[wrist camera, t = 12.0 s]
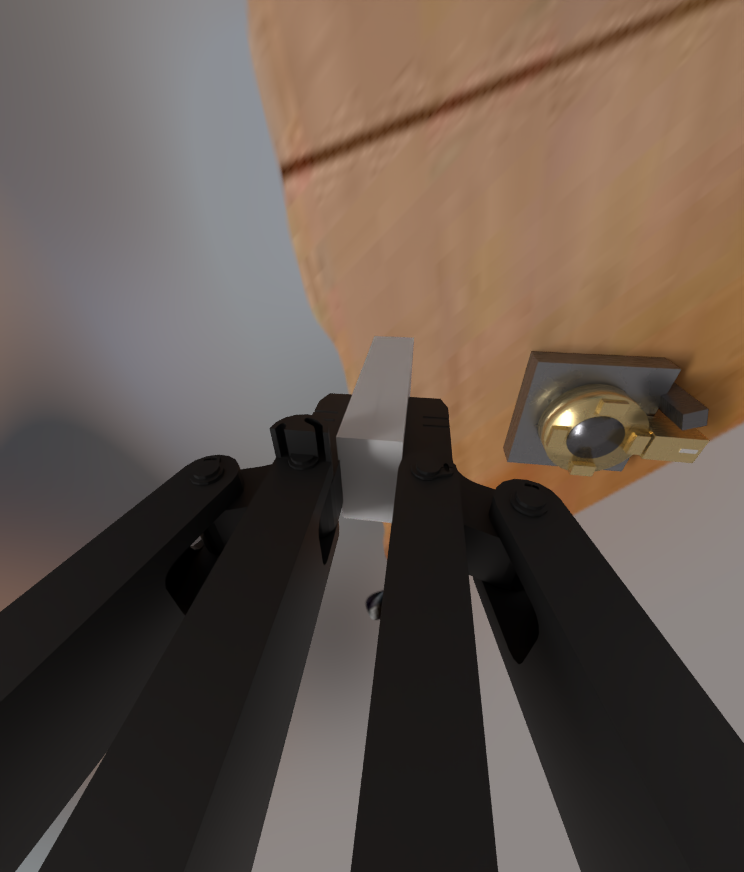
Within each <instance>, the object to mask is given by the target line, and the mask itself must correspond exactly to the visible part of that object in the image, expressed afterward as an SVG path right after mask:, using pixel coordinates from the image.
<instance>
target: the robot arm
mask: <svg viewBox="0 0 744 872" xmlns="http://www.w3.org/2000/svg"><path fill="white" fill-rule="evenodd" d="M413 345H414V338H406V337H381V336H374V339H373V342H372V344H371V347H370V349H369V352H368V355H367V357H366V360H365V363H364V365H363V368H362V370H361V373H360V376H359V378H358V381H357V383H356V386H355V389H354V391H353V394H352V395H349V394H333V393H332V394H331V393H330V394H329V395H327V396H326V397H324V398H323V399H322V400H320V401H319V403H318V405H317V407H316V409H315V412H313V414H312V415H308V414H305V415H294V416H290V417H286V418H283V419H281V420H279V421H278V422H276V423H275V424H274V425H273V426H272V427H271V428H270V432H271V437H272V441H273V446H274V450H275V454H276V459H275V460H274V462H273V464H271V465H266V466H262V467H255V468H247V469H240V467H239V465H238V463H237V461H236V460H235V459H233V458H231V457H230V456H225V455H213V456H206V457H204V458H201V459H198V460H195V461H194V462H192V463H190V464H189V465H187V466H185V467H184V468H183V469H182V470H180V471H179V472H178V473H176V474H175V475H174V476H173V477H171V478H170V479H169V480H168V481H166V482H165V483H164V484H162V485H161V486H160V487H159V488H157V489H156V490H155V491H154V492H152V493H151V494H150V495H148V496H147V497H146V498H145V499H144V500H142V501H141V502H140V503H139V504H137V505H136V506H135V507H133V508H132V509H131V510H129V511H128V512H127V513H126V514H124V515H123V516H122V517H121V518H119V519H118V520H117V521H115V522H114V523H113V524H112V525H110V526H109V527H108V528H107V529H105V530H104V531H103V532H101V533H100V534H99V535H98V536H97V537H95V538H94V539H92V540H91V541H90V542H89V543H87V544H86V545H85V546H84V547H82V548H81V549H80V550H79V551H77V552H76V553H75V554H73V555H72V556H71V557H70V558H68V559H67V560H66V561H65V562H63V563H62V564H61V565H59V566H58V567H57V568H56V569H54V570H53V571H52V572H51V573H49V574H48V575H47V576H45V577H44V578H43V579H42V580H40V581H39V582H38V583H37V584H35V585H34V586H33V587H31V588H30V589H29V590H28V591H26V592H25V593H24V594H23V595H22V596H20V597H19V598H17V599H16V600H15V601H14V602H12V603H11V604H10V605H9V606H7V607H6V608H5V609H3V610H2V611H1V612H0V872H15V871H16V870H17V869H18V867H19V866H20V865H21V863H22V862H23V861H24V859H25V858H26V857H27V855H28V854H29V853H30V852H31V850H32V849H33V847H34V846H35V845H36V843H37V842H38V841H39V840H40V838H41V837H42V836H43V834H44V833H45V832H46V831H47V829H48V828H49V827H50V825H51V824H52V823H53V821H54V820H55V819H56V818H57V816H58V815H59V814H60V812H61V811H62V810H63V808H64V807H65V806H66V804H67V803H68V802H69V800H70V799H71V798H72V797H73V795H74V794H75V793H76V791H77V790H78V789H79V787H80V786H81V785H82V783H83V782H84V781H85V779H86V778H87V777H88V776H89V774H90V773H91V772H92V770H93V769H94V768H95V766H96V765H97V764H98V763H99V761H100V760H101V759H102V757H103V756H104V755H105V753H106V752H107V753H106V755H105V756H104V758H103V760H102V762H101V763H100V765H99V767H98V768H97V770H96V772H95V774H94V776H93V778H92V779H91V781H90V782H89V784H88V786H87V788H86V789H85V791H84V793H83V795H82V796H81V798H80V800H79V802H78V804H77V805H76V807H75V809H74V810H73V812H72V814H71V816H70V817H69V819H68V821H67V823H66V824H65V826H64V828H63V829H62V831H61V833H60V835H59V837H58V838H57V840H56V842H55V843H54V845H53V847H52V849H51V850H50V852H49V854H48V856H47V857H46V859H45V861H44V862H43V864H42V866H41V868H40V870H39V871H38V872H251V870H252V866H253V863H254V859H255V854H256V851H257V847H258V843H259V839H260V836H261V832H262V828H263V824H264V820H265V816H266V813H267V809H268V804H269V801H270V797H271V793H272V789H273V786H274V782H275V778H276V774H277V770H278V767H279V763H280V759H281V755H282V751H283V747H284V744H285V740H286V736H287V732H288V728H289V724H290V721H291V717H292V713H293V709H294V705H295V701H296V697H297V693H298V690H299V686H300V682H301V678H302V675H303V670H304V667H305V663H306V659H307V656H308V652H309V648H310V644H311V640H312V636H313V633H314V629H315V625H316V621H317V617H318V613H319V610H320V606H321V602H322V598H323V594H324V590H325V587H326V583H327V579H328V575H329V571H330V567H331V563H332V560H333V556H334V552H335V548H336V544H337V541H338V537H339V521H338V519H339V516H340V512H341V508H342V510H343V518H350V519H360V520H369V521H379V522H389V523H392V525H391V533H390V542H389V550H388V559H387V567H386V576H385V584H384V593H383V601H382V610H381V618H380V627H379V635H378V644H377V653H376V662H375V669H374V679H373V686H372V695H371V704H370V713H369V720H368V729H367V737H366V745H365V754H364V762H363V772H362V779H361V788H360V796H359V805H358V814H357V822H356V830H355V839H354V848H353V856H352V864H351V872H498V866H497V856H496V846H495V836H494V826H493V815H492V805H491V796H490V785H489V775H488V766H487V755H486V745H485V735H484V726H483V715H482V705H481V695H480V685H479V675H478V665H477V655H476V644H475V634H474V625H473V614H472V604H471V594H470V584H469V575H471V576H473V580H474V583H475V585H476V588H477V591H478V593H479V596H480V599H481V602H482V604H483V607H484V609H485V612H486V615H487V618H488V621H489V623H490V626H491V629H492V631H493V634H494V637H495V639H496V642H497V645H498V648H499V650H500V653H501V656H502V659H503V661H504V664H505V667H506V669H507V672H508V675H509V677H510V680H511V683H512V686H513V688H514V691H515V694H516V696H517V699H518V702H519V704H520V707H521V710H522V712H523V715H524V718H525V721H526V724H527V726H528V729H529V732H530V734H531V737H532V740H533V743H534V745H535V748H536V751H537V753H538V756H539V759H540V762H541V764H542V767H543V770H544V772H545V775H546V777H547V781H548V783H549V786H550V789H551V791H552V794H553V797H554V800H555V802H556V805H557V807H558V810H559V813H560V815H561V818H562V821H563V824H564V827H565V829H566V832H567V835H568V837H569V840H570V843H571V845H572V848H573V851H574V854H575V856H576V859H577V862H578V865H579V867H580V870H581V872H744V743H743V742H742V740H741V739H740V738H739V736H738V735H737V734H736V732H735V731H734V730H733V728H732V727H731V726H730V724H729V723H728V722H727V720H726V719H725V718H724V716H723V715H722V714H721V712H720V711H719V710H718V708H717V707H716V706H715V704H714V703H713V702H712V700H711V699H710V698H709V696H708V695H707V694H706V692H705V691H704V690H703V688H702V687H701V686H700V684H699V683H698V682H697V680H696V679H695V678H694V676H693V675H692V674H691V672H690V671H689V670H688V668H687V667H686V666H685V665H684V663H683V662H682V660H681V659H680V658H679V656H678V655H677V654H676V652H675V651H674V650H673V648H672V647H671V646H670V644H669V643H668V642H667V640H666V639H665V638H664V637H663V635H662V634H661V632H660V631H659V630H658V628H657V627H656V626H655V624H654V623H653V622H652V620H651V619H650V618H649V616H648V615H647V614H646V612H645V611H644V610H643V608H642V607H641V606H640V604H639V603H638V602H637V601H636V599H635V598H634V596H633V595H632V594H631V592H630V591H629V590H628V589H627V587H626V586H625V584H624V583H623V582H622V580H621V579H620V578H619V577H618V575H617V574H616V573H615V571H614V570H613V568H612V567H611V566H610V565H609V563H608V562H607V561H606V559H605V558H604V557H603V555H602V554H601V553H600V551H599V550H598V548H597V547H596V546H595V544H594V543H593V542H592V541H591V539H590V538H589V537H588V535H587V534H586V533H585V531H584V530H583V529H582V527H581V526H580V525H579V523H578V522H577V521H576V519H575V518H574V517H573V515H572V514H571V513H570V511H569V510H568V509H567V507H566V506H565V505H564V503H563V502H562V501H561V499H560V498H559V497H558V496H557V495H556V494H555V493H554V492H552V491H551V490H550V489H548V488H546V487H544V486H543V485H541V484H539V483H535V482H532V481H529V480H521V479H512V480H508V481H504V482H502V483H501V484H500V485H499V486H497V487H496V490H495V489H492V488H489V487H486V486H483V485H480V484H477V483H475V482H472V481H470V480H469V479H467V478H465V477H464V476H463V475H462V474H460V473H459V472H458V470H457V468H456V465H455V464H454V463H453V460H452V448H451V437H450V428H449V427H450V425H449V414H448V407H447V406H446V405H445V404H444V403H443V401H442V400H441V399H434V398H417V397H410V389H411V375H412V360H413ZM199 536H200V537H201V540H200V541H199V542H198V543H196V544H195V545H194V546H190V545H191V544H192V543H193V542H194V541H195V540H196V539H197V538H198V537H199Z"/></svg>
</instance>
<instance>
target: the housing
mask: <svg viewBox="0 0 744 872" xmlns="http://www.w3.org/2000/svg"><path fill="white" fill-rule="evenodd" d="M680 371H681V369H680V368H679V367H677V366H676V365H674V364H673V363H672V362H670V361H669V360H667V359H666V358H660V357H639V356H618V355H597V354H576V353H555V352H534V351H531V354H530V358H529V361H528V364H527V368H526V371H525V375H524V378H523V382H522V385H521V389H520V392H519V396H518V399H517V402H516V406H515V409H514V413H513V416H512V420H511V423H510V427H509V430H508V433H507V437H506V440H505V444H504V447H503V449H504V452H505V455H506V459H507V462H516V463H527V464H539V465H551V466H557V465H556V464H554V463H553V462H552V461H551V460H550V459H549V457H548V456H547V453H546V451H545V449H544V447H543V445H542V442H541V440H540V438H539V435H538V423H539V419H540V417H541V415H542V413H543V412H544V410H545V409H546V407H547V406H548V405H549V404H550V403H551V402H552V401H553V400H555V399H556V398H557V397H559V396H560V395H562V394H563V393H565V392H567V391H569V390H572V389H574V388H577V387H580V386H585V385H591V384H605V385H611V386H615V387H617V388H620V389H621V390H623V391H624V392H626V393H627V394H628V395H629V396H630V397H631V398H632V399H633V400H634V401H635V402H636V403H637V404H638V405H639V406H640V407H641V408H642V409H643V411H644V412H645V413H646V415H647V416H652V417H654V415H655V413H656V412H657V410H658V409H660V410H661V411H662V412H663V413H664V414H665V415H666V416H667V417H668V418H669V419H670V420H671V421H672V422H673V423H674V424H676V425H677V426H678V427H679V428H680V429H681V430H682V431H683V430H687V429H692V428H697V427H701V426H706V425H707V418H708V408H707V407H705V406H704V405H703V404H701V403H700V402H699V401H698V400H696V399H695V398H694V397H692V396H691V395H690V394H688V393H687V392H686V391H685V390H683V389H682V388H681V387H679V386H678V385H677V384H676V383H674V381H675V379H676V378H677V376H678V374H679V372H680ZM629 458H630V457H629ZM629 458H628V459H626V460H625V461H623V462H621V463H619V464H617V465H615V466H613V467H610V468H607V469H604V470H611V471H622V470H623V468H624V466H625V465H626V463H627V461H628V460H629Z"/></svg>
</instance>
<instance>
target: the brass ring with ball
mask: <svg viewBox="0 0 744 872" xmlns="http://www.w3.org/2000/svg"><path fill="white" fill-rule="evenodd" d="M538 435H539V438H540V440H541V442H542V445H543V447H544V449H545V451H546V453H547V456H548V457H549V459H550V460H551V461H552V462H553V463H554V464H556V465H557V466H559V467H561V468H563V469H566V470H568V472H569V474H571V475H582V476H592V475H593V473H594V471H600V470H604V469H607V468H610V467H613V466H615V465H617V464H619V463H621V462H623V461H625V460H626V459H628V458H629V457H630V456H632V455H639V456H640V457H641V458H642V459H652V460H663V461H675V462H686V463H693V462H694V461H695V459H696V458H697V457H698V455H699V454H700V453H701V451H702V450H703V449H704V447H705V446H706V445H707V443H708V442H709V441H710V440H709V439H708V438H706V437H705V436H704V435H703V434H702V433H701V432H700V431H698V430H697V429H696V428H692V429H687V430H683V431H682V430H681V429H680V428H679V427H678V426H677V425H676V424H674V423H673V422H672V421H671V420H670V419H669V418H666V417H652V416H647V415H646V413H645V412H644V411H643V409H642V408H641V407H640V406H639V405H638V404H637V403H636V402H635V401H634V400H633V399H632V398H631V397H630V396H629V395H628V394H627V393H626V392H624V391H623V390H621V389H620V388H617V387H615V386H611V385H605V384H591V385H585V386H580V387H577V388H574V389H572V390H569V391H567V392H565V393H563V394H562V395H560V396H559V397H557V398H556V399H555V400H553V401H552V402H551V403H550V404H549V405H548V406H547V407H546V409H545V410H544V412H543V413H542V415H541V417H540V419H539V423H538Z"/></svg>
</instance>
